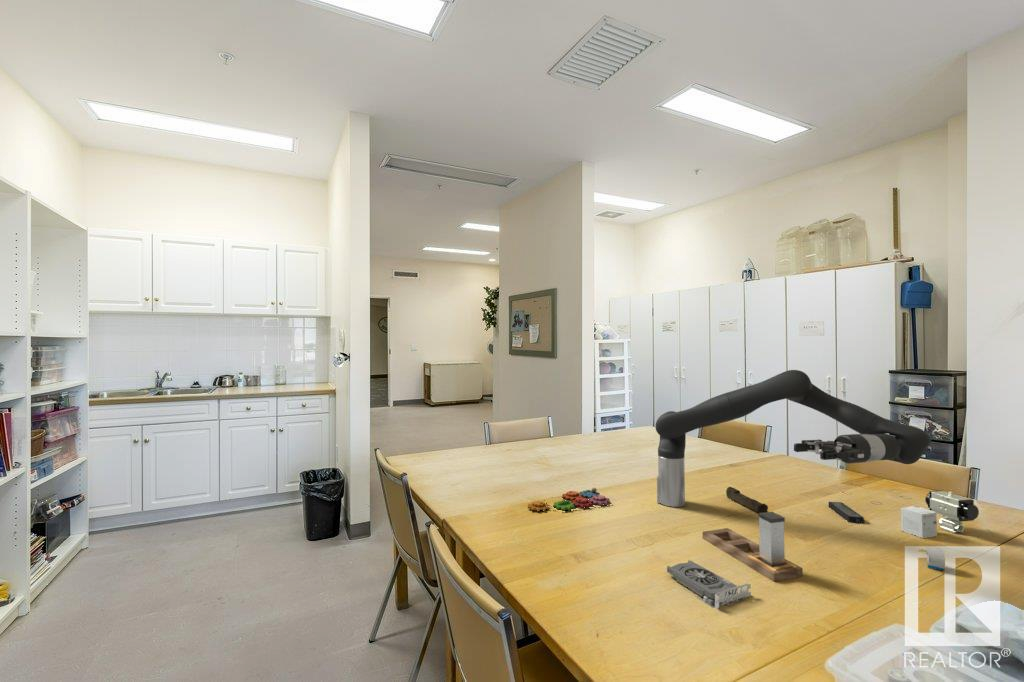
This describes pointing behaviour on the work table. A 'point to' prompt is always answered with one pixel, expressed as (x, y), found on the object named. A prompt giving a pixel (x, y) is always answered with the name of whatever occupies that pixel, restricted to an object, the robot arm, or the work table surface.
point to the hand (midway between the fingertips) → (807, 451)
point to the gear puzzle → (574, 501)
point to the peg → (771, 539)
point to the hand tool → (745, 500)
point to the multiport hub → (846, 512)
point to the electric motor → (934, 558)
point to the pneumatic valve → (952, 509)
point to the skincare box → (918, 521)
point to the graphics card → (708, 584)
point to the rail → (752, 559)
